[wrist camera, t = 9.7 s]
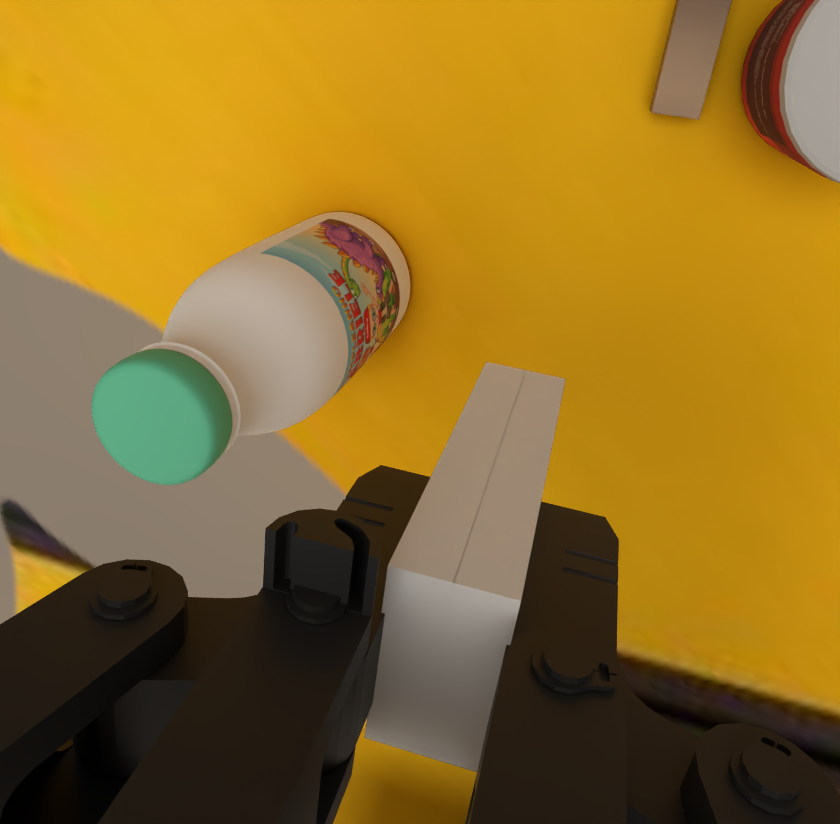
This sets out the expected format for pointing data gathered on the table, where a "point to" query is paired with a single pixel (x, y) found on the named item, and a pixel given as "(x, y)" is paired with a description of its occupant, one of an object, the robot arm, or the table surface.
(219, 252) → the table surface
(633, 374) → the table surface
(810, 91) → the canned food
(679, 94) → the wooden u-shaped frame
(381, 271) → the milk bottle
